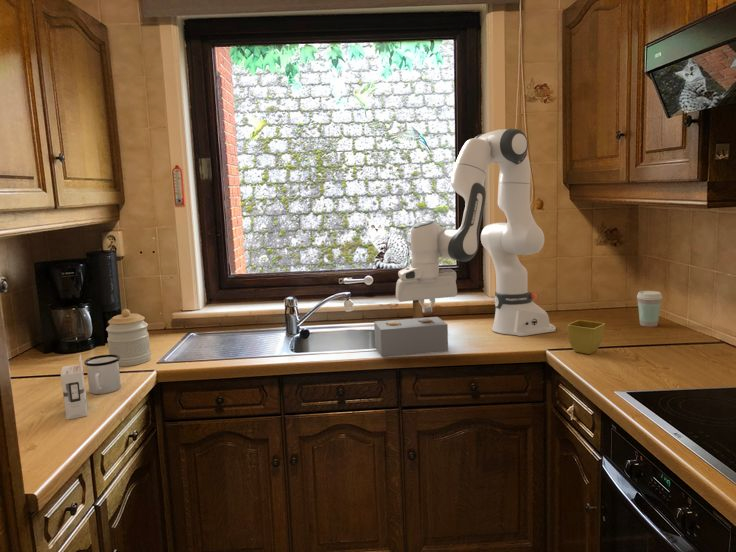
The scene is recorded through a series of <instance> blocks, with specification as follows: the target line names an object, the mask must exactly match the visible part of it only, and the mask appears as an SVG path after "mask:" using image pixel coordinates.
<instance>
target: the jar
mask: <svg viewBox="0 0 736 552" xmlns="http://www.w3.org/2000/svg"><path fill="white" fill-rule="evenodd" d="M145 318H146V317H145V316H143V315H141V314H139V313H131V311H130V309H128V308H124V309H123V310H122V311H121V314H117V315H115V316H113V317H111V318H110V319H109V320H108V321H107V323H108V324H109V325H108V326H107V327H106V329H105V331H107V334H108V335H107V336H108V337H107V339H106V340H107V344H108V345H107V346H108V355H118V356H120V360H119V361H118V363H119V367H132V366H136V365H140V364H144V363H146V362H148V361H150V360H151V355H152V353H151V347H150V346H151V345H150V337H149V336H150V333H149V332H148V326H149V323H147V322H146V321H144V320H145Z"/></svg>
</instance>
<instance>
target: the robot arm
mask: <svg viewBox="0 0 736 552" xmlns="http://www.w3.org/2000/svg"><path fill="white" fill-rule="evenodd" d="M528 149H529V141H528V137H527V136H526V134H525V132H524V131H523V130H520V129H518V128H507V129H505V128H503V129H495V130H493V131H488V132H482V133H480V134H477V136H475V137H474V138H469V139H468V140H466V141H465V142H464V144H463V146H462V147H461V149H460V151H459V154H458V156H457V158H456V160H455V162H454V166H453V169H452V171H451V176H450V184H451V185H450V186H451V187H452V189H453V191H454V192H455V193H457V194H458V195H459V196H460V197H462V198H463V200H464V202H465V203H464V205H465V207H464V210H463V215H462V220H461V225H460V227H459V228H458V229H451V228H446V227H443V226H440V225H439V224H437V223H436V222H435V221H434V220H431V219H430V220H428V219H427V220H421V221H418V222H416V223H414V224H413V225H412V227H411V229H410V251H411V256H412V257H411V265H409V266H407V267H405V268H403V269H400V270H399V271H398V272H397V275H398V279H397V281H396V283H395V284H396V285H395V298H396V299H397V301H398V302H400V303H402V302H411V301H412V302H413V301H414V300H419V303H420V305H421V306H422V311H423V314H426V313H433V307H434V305H435V303H436V299H444V298H453V297H456V296H457V294H458V288H457V287H458V286H457V283H456V281H457V272H456V270H453V269H452V268H447V269H444V268H443V269H442V268H441V269H440V265H439V261H440V260H439V259H440V258H444V259H449V260H454V261H458V262H462V263H465V262H469V261H471V260H472V259H473V258H474V257H475V255H476V254H477V252H478V250H479V242H480V241H481V242H480V243H481V245H482V246H483V248H484V249H485V250H486V251H487V252H488V254H489V255H490V258H491V260H492V263H493V266H494V272H495V293H494V306H495V313H494V318H493V319H494V321H493V324H492V328H491V331H493V333H494V332H495V333H498V334H504V335H512V336H513V335H514V336H518V337H527V336H531V335H538V334H544V333H552V332H556V331H557V329H556V326H555V325H553V324H552V323H550V317H549V315H548V312H546V310H544V309H543V308H542V307H540V306H539V305H538V304H536V303H535V302H534V301H533V300H537V299H538V295H537V293H535V292H533V293H532V292H531V291H528V286H529V285H528V278H529V277H528V274H529V273H528V269H527V268H526V267H525V266H524V265H523V264H522V263H521V261H520V260H519V259H520V258H519V257H518V255H519V256H520V255H521V256H528V255H529V256H530V255H534V254H538V253H539V252H540V251H541V250H542V249H543V247H544V244H545V235H544V232H543V230H542V229H541V227H540V226H539V225H538V224H537V222H536V221H535V219H534V217H533V214H532V210H531V174H532V173H531V164H530V158H529V156H528ZM490 164H497V165H498V167H499V174H498V184H497V185H498V187H497V188H498V189H497V206H498V207H499V209H500V211H502V212H503V213H504V215H505V218H506V222H493V223H490V224H487V225H486V226H484V227H483V229H482V230H481V233H480V229H481V224H482V218H483V214H484V209H485V203H486V194H487V192H486V189H485V179H486V176H487V173H488V170H489V165H490ZM479 235H480V236H479ZM479 237H480V240H479ZM425 300H429V302H430V303H429V305H426V306H425V304H424V303H425Z"/></svg>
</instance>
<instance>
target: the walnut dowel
mask: <svg viewBox="0 0 736 552" xmlns="http://www.w3.org/2000/svg"><path fill="white" fill-rule="evenodd" d="M420 323H421V324H425V323H432V320H431V319H423V320H420Z"/></svg>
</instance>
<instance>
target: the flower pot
mask: <svg viewBox="0 0 736 552" xmlns="http://www.w3.org/2000/svg"><path fill="white" fill-rule="evenodd" d="M566 326H567V334H568V341H569V343H570V347H571V348H572V349H573V351H574V352H576V353H579V354H585V355H586V354H587V355H591V354H592V353H595V352H597V351H598V349H599V348H600V346H601V345H602V341H603V338H604V334H605V329H606V328H605V326H606V323H605V322H600V321H591V320H584V319H577V320H575V321H573V322H570V323H568V324H567V325H566Z"/></svg>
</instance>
